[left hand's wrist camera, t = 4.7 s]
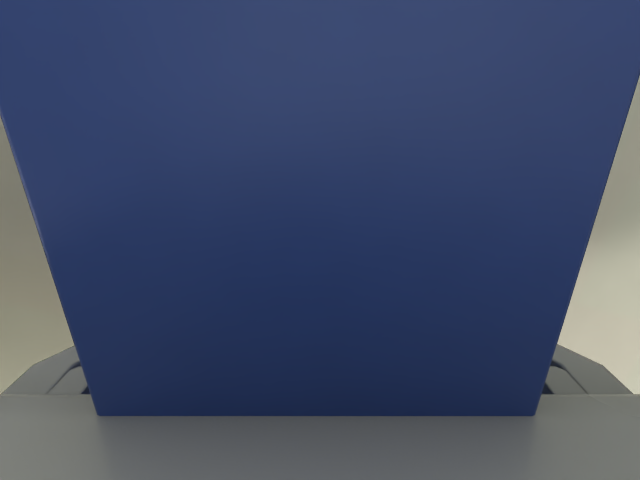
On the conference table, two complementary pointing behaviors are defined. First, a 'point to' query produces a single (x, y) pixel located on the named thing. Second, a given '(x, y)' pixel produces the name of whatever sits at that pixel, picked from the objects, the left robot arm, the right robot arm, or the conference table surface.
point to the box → (316, 193)
